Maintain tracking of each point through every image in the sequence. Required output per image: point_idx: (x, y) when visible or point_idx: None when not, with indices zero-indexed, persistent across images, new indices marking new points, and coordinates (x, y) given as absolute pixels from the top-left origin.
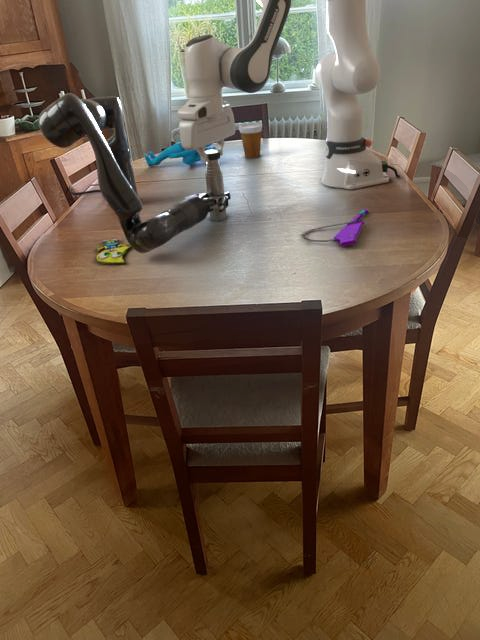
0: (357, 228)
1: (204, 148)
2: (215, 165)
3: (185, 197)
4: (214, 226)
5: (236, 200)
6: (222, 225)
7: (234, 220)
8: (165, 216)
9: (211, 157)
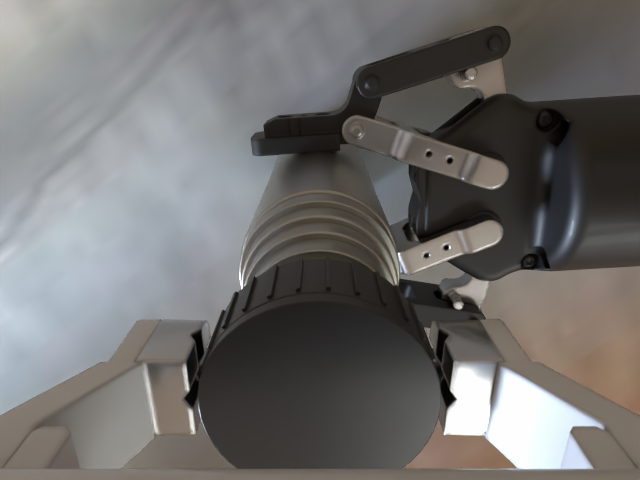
0: None
1: (613, 447)
2: (356, 252)
3: None
4: (427, 113)
5: (79, 232)
6: None
7: (315, 62)
8: None
9: (414, 317)
